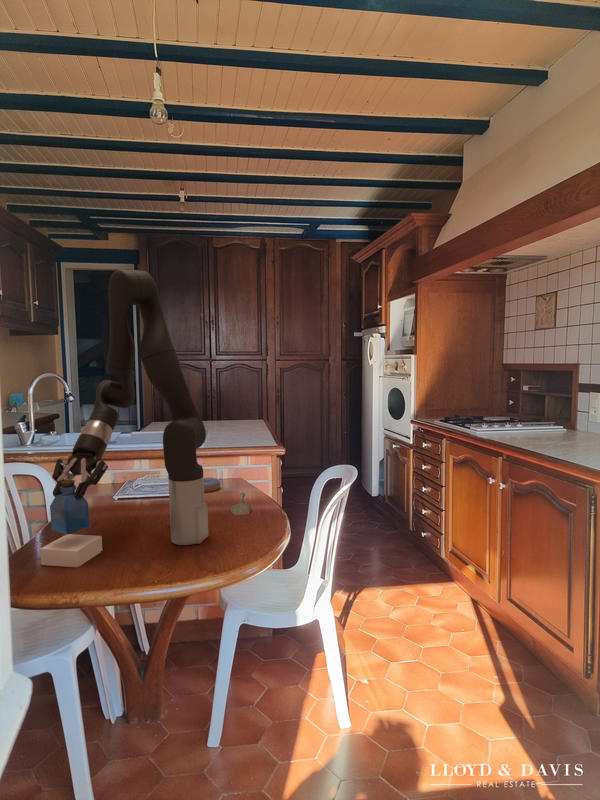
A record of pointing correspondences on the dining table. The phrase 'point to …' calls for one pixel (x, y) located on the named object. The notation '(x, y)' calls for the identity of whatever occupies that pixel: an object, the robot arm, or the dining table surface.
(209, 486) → the doughnut
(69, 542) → the plinth
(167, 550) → the dining table surface
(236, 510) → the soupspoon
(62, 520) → the perfume bottle
